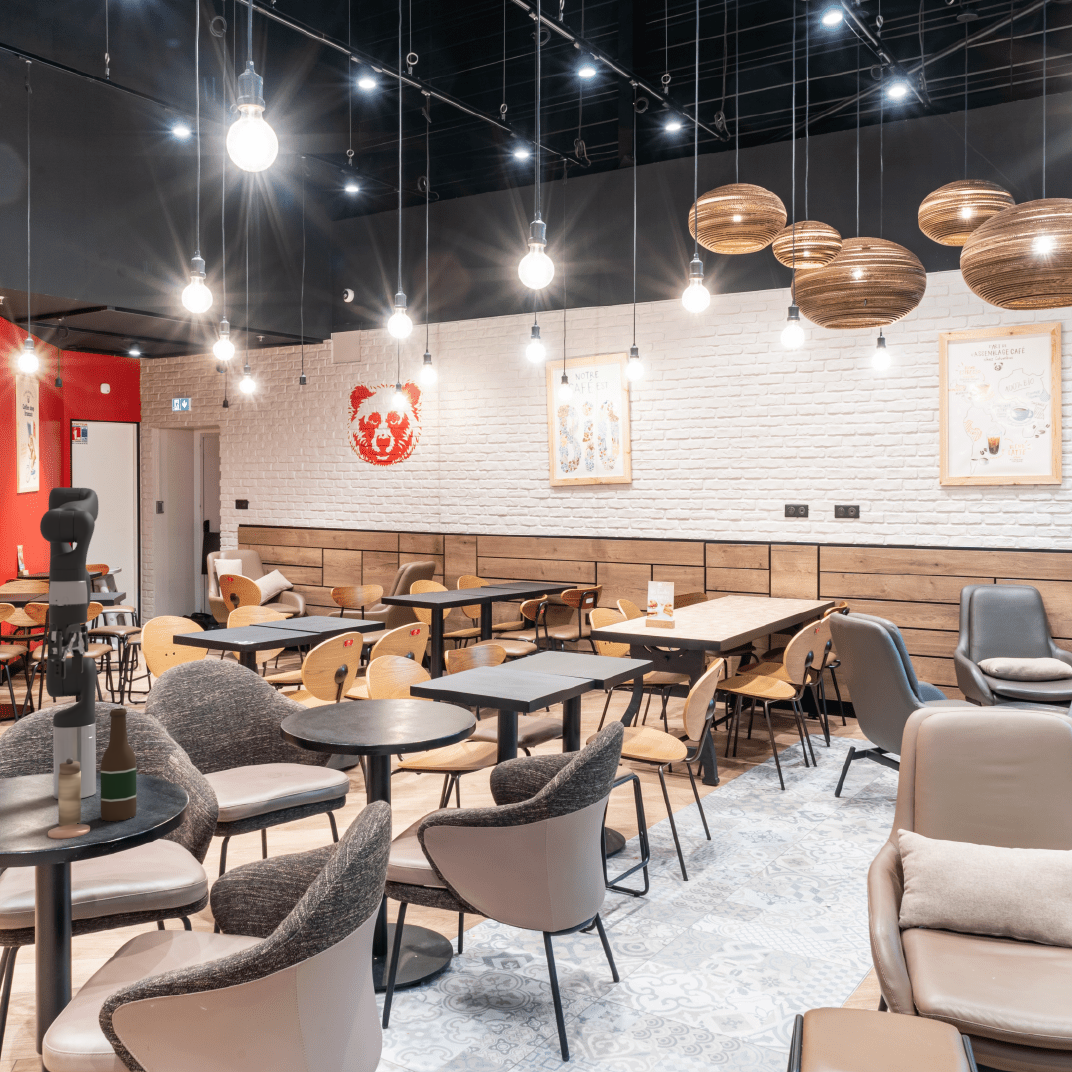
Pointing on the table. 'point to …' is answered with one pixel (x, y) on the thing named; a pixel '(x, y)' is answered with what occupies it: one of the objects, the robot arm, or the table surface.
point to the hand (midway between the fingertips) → (68, 676)
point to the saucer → (68, 831)
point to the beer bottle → (118, 772)
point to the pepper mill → (69, 793)
